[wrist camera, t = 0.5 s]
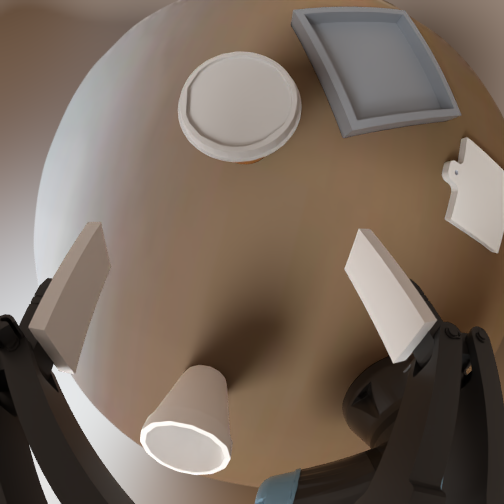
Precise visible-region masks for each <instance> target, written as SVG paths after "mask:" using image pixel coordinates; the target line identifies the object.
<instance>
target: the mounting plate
mask: <svg viewBox="0 0 504 504" xmlns="http://www.w3.org/2000/svg"><path fill="white" fill-rule="evenodd" d="M442 177H443V179H444V180H445V181H446V182H447V183H449V185H450V186H451V196H450V200H449V204H448V208H447V212H446V215H445V220H446V221H448V222H450V223H451V224H453V225H454V226H456V227H457V228H459V229H460V230H462V231H463V232H465V233H466V234H468V235H469V236H470V237H472V238H473V239H475V240H476V241H478V242H479V243H480V244H482V245H483V246H484V247H486V248H487V249H489V250H490V251H491V252H494V253H498V252H499V248H500V244H501V240H502V236H503V232H504V170H503V169H502V168H501V167H500V166H499V165H498V164H497V163H496V162H495V161H494V160H492V159H491V158H490V157H489V156H488V155H487V154H486V153H485V152H484V151H483V150H482V149H481V148H479V147H478V146H477V145H476V144H475V143H474V142H472V141H471V140H470V139H469V138H468V137H466V138H462V139H461V144H460V151H459V157H458V162H456V161H454V160H453V161H448V162H445V163H444V166H443V170H442Z"/></svg>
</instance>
